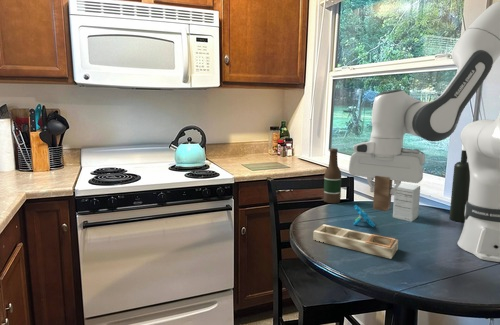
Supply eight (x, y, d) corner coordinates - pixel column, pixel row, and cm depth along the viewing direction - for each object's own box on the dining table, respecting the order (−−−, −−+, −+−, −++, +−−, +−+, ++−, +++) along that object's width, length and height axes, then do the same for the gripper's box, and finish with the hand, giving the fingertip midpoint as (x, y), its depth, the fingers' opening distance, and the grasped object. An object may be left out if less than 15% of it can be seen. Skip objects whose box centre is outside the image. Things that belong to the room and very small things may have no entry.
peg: (390, 207, 103) (392, 175, 101) (387, 211, 100) (389, 177, 98) (376, 205, 105) (378, 173, 104) (373, 208, 102) (375, 176, 100)
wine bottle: (463, 223, 127) (471, 142, 121) (446, 219, 131) (454, 141, 126) (469, 219, 130) (477, 141, 125) (452, 216, 135) (460, 139, 129)
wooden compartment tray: (397, 249, 106) (398, 238, 105) (391, 258, 99) (392, 248, 99) (323, 232, 120) (323, 223, 119) (313, 240, 113) (313, 230, 113)
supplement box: (399, 213, 139) (401, 182, 137) (418, 217, 134) (421, 185, 132) (391, 217, 134) (393, 186, 132) (411, 222, 129) (414, 189, 126)
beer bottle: (321, 199, 160) (322, 147, 155) (337, 198, 160) (339, 147, 156) (326, 204, 152) (327, 150, 148) (343, 203, 153) (345, 149, 148)
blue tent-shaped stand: (377, 227, 119) (356, 205, 121) (364, 238, 121) (344, 216, 122) (375, 221, 130) (356, 201, 132) (363, 231, 131) (344, 211, 133)
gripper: (427, 148, 96) (423, 196, 98) (355, 143, 108) (352, 186, 110) (423, 151, 91) (419, 201, 93) (348, 145, 103) (345, 190, 105)
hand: (382, 193), depth 102 cm, fingers closed on peg, 4 cm apart
